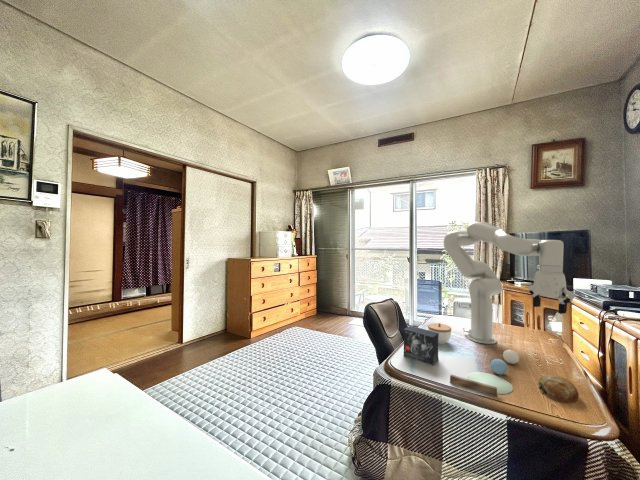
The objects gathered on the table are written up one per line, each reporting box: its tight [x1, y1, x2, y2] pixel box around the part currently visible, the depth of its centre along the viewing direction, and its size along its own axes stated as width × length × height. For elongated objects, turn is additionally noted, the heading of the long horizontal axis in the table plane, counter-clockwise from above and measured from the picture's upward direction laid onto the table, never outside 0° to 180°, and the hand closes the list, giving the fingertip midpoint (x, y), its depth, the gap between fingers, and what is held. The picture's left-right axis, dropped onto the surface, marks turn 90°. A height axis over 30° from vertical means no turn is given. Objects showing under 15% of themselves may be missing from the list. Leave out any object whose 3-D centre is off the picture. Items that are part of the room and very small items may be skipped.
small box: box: [403, 325, 439, 366], centre depth 114 cm, size 13×7×12 cm, turn 46°
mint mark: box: [466, 371, 514, 395], centre depth 94 cm, size 14×14×1 cm
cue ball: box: [502, 349, 520, 365], centre depth 109 cm, size 6×6×6 cm
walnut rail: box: [449, 374, 498, 397], centre depth 91 cm, size 14×1×2 cm, turn 54°
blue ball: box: [490, 358, 508, 375], centre depth 101 cm, size 6×6×6 cm
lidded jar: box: [427, 322, 452, 345], centre depth 132 cm, size 11×11×9 cm
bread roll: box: [537, 374, 580, 404], centre depth 88 cm, size 10×10×8 cm
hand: (549, 309), depth 109 cm, fingers open, 9 cm apart
